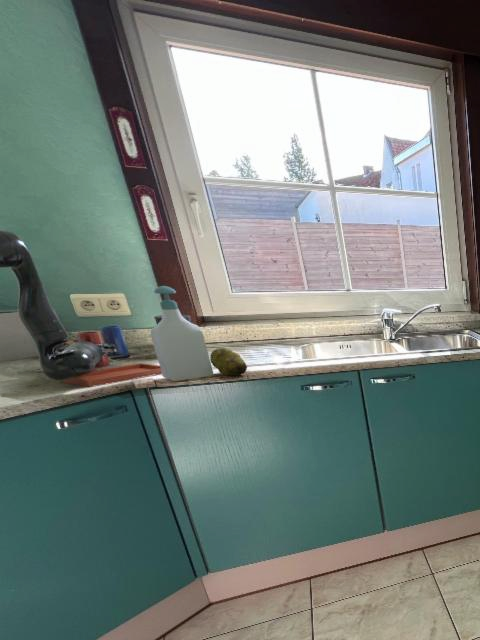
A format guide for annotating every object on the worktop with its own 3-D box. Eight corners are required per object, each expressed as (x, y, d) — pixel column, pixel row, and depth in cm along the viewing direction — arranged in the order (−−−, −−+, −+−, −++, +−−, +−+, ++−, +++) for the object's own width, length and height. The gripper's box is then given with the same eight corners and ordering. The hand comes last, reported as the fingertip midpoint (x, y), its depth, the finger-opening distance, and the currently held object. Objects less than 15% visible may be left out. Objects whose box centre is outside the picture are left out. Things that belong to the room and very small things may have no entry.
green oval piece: (218, 379, 154) (212, 353, 151) (212, 371, 162) (206, 347, 159) (250, 375, 159) (244, 351, 156) (242, 368, 168) (236, 345, 165)
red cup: (94, 368, 162) (83, 334, 158) (84, 366, 163) (72, 333, 159) (114, 365, 167) (103, 332, 162) (103, 363, 168) (92, 331, 164)
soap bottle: (202, 371, 162) (178, 284, 152) (213, 375, 158) (190, 286, 148) (161, 377, 153) (133, 285, 143) (172, 381, 149) (144, 287, 139)
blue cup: (116, 359, 174) (105, 328, 170) (106, 358, 176) (95, 327, 172) (134, 357, 179) (124, 326, 175) (123, 355, 180) (113, 325, 176)
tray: (90, 386, 141) (88, 381, 140) (60, 381, 145) (57, 376, 144) (171, 372, 160) (170, 366, 160) (143, 368, 164) (141, 363, 163)
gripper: (110, 341, 154) (120, 334, 167) (44, 344, 147) (60, 336, 159) (117, 365, 157) (127, 356, 170) (54, 369, 149) (69, 359, 162)
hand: (94, 346), depth 165 cm, fingers closed on red cup, 5 cm apart
